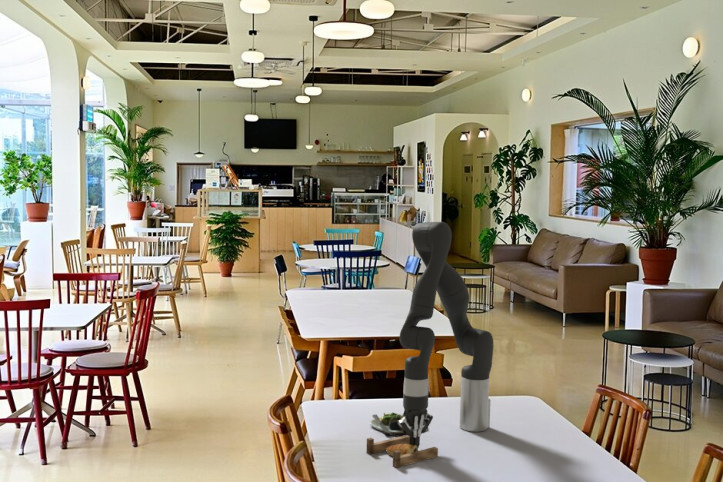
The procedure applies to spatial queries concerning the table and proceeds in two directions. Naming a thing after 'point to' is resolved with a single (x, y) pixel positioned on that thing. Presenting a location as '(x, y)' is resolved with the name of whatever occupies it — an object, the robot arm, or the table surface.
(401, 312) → the table surface
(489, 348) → the robot arm
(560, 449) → the table surface
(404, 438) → the pair of wooden bars
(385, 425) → the salad plate
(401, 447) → the pastry
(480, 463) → the table surface
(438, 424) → the table surface
